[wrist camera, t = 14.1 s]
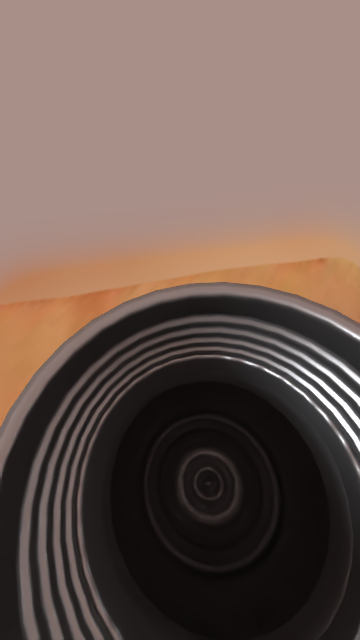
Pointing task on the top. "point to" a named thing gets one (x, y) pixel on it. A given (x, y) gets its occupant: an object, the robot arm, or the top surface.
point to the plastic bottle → (187, 474)
